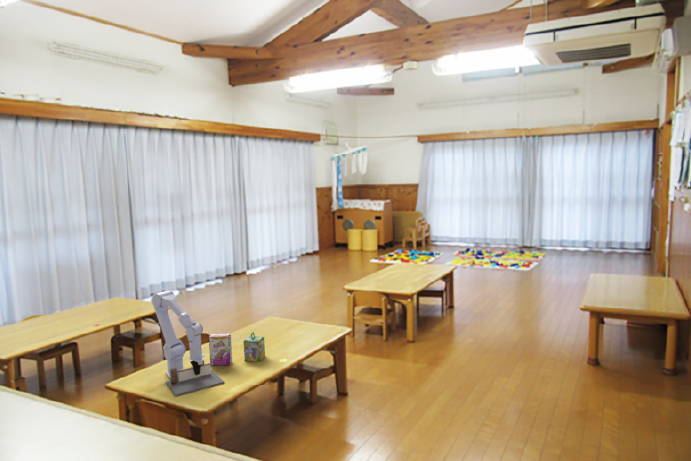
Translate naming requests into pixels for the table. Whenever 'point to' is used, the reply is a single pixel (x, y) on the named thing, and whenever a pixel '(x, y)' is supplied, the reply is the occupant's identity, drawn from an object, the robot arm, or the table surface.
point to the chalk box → (254, 348)
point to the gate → (189, 372)
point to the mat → (195, 384)
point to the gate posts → (175, 375)
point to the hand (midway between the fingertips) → (197, 374)
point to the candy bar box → (220, 349)
